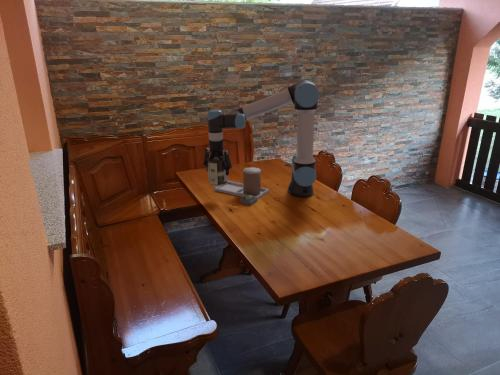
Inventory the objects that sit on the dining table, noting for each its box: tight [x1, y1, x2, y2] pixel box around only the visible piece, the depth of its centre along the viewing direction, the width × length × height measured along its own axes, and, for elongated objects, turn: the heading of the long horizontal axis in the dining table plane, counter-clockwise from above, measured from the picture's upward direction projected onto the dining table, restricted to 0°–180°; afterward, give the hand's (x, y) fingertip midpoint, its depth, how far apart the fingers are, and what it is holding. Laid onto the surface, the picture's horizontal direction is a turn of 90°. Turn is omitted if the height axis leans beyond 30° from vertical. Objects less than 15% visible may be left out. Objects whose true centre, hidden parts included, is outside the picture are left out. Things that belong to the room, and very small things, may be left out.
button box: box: [239, 197, 259, 206], centre depth 202 cm, size 7×7×3 cm
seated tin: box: [242, 166, 262, 196], centre depth 211 cm, size 10×10×14 cm
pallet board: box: [213, 180, 270, 200], centre depth 217 cm, size 29×15×2 cm, turn 60°
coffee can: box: [208, 157, 228, 187], centre depth 201 cm, size 10×10×14 cm
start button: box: [245, 195, 253, 201], centre depth 201 cm, size 4×4×3 cm
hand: (218, 179), depth 203 cm, fingers closed on coffee can, 10 cm apart
